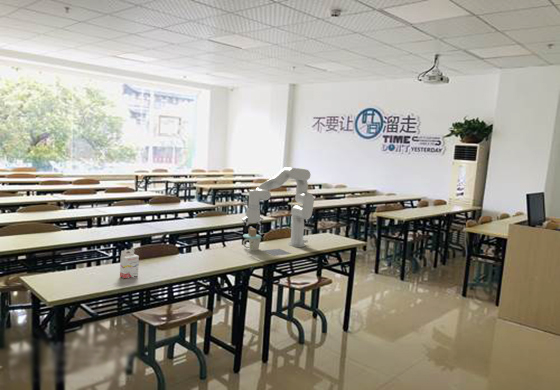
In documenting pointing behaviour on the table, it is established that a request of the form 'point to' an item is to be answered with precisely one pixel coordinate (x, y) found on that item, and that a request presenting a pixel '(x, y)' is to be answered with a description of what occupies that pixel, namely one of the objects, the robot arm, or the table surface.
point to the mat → (276, 252)
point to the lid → (252, 234)
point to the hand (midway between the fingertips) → (252, 230)
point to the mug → (253, 243)
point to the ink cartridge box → (129, 264)
